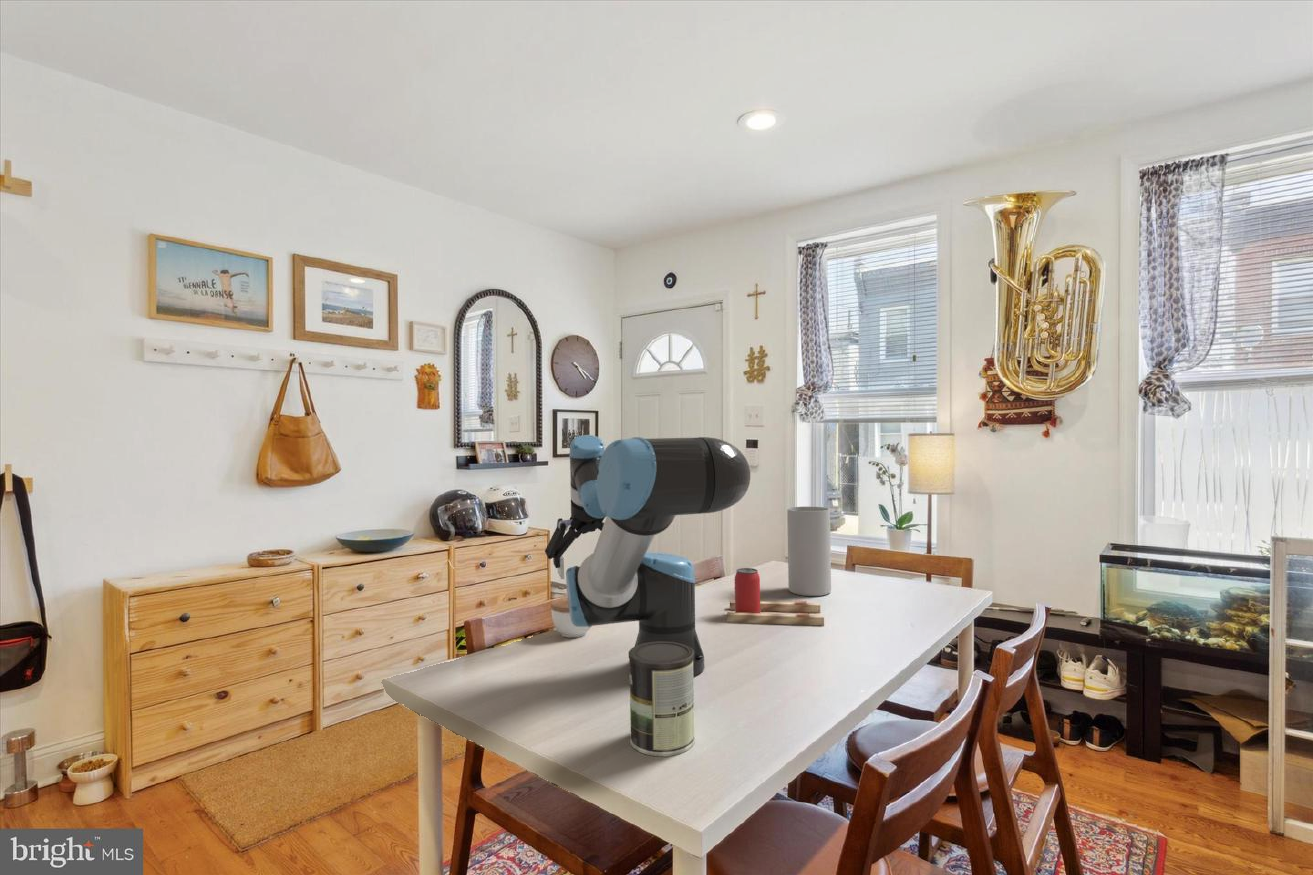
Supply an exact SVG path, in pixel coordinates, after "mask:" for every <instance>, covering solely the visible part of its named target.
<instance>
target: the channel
mask: <svg viewBox="0 0 1313 875" xmlns="http://www.w3.org/2000/svg"><path fill="white" fill-rule="evenodd" d="M729 610H730V611H731V612H729V611H728V612H727V613H726V622H727V623H733V624H735V623H736V624H738V623H739V624H766V625H767V624H769V625H793V626H794V625H796V626H798V625H799V626H823V627H824V626H825V616H824V615H823V614H822V615H821V614H820V613H821V603H819V602H807V601H806V600H805V601H803V600H801V601H800V600H794V602H786V601H783V602H782V601H760V613H735V600H729ZM732 611H734V612H732ZM762 612H764V613H762ZM765 612H783V613H765ZM784 612H786V613H784ZM789 612H790V613H794V614H790V613H789ZM810 613H814V614H810ZM815 613H817V614H815ZM818 613H819V614H818Z"/></svg>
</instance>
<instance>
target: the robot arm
mask: <svg viewBox="0 0 1313 875" xmlns="http://www.w3.org/2000/svg"><path fill="white" fill-rule="evenodd" d="M568 457H569V471H570V473H569V474H570V484H569V485H570V517H569V519H563V518H560V517H559V518H558V519H557V524H556V528H555V530H554V532H553V534H552V535H551V538H550V540H549V542H548V544H547V545H546V548H545V549H544V552H545V554H546V557H547V559H548V560H551V559H553V560H552V561H553V562H552V563H553V566H554V567H555V569H557V574H558V577H560V580H564V579H565V582H566V595H567V597H568V604H569V611H570V617H571V621H572V623H573V625H575V626H577V627H591V628H592V627H593V626H603V625H611V624H612V625H613V624H620V623H627V622H629V623H630V622H638V632H637V636H636V640H635V643H634V646H633V647H635V646H637V645H640V644H643V643H647V642H655V641H670V642H677V643H682V644H685V645H687V646H689V647H691V648H692V649H693V651H694V658H693V678H694V677H696V676H699V675H700V674H701V673H702V672H703V671H704V670H705V656H704V652H703V649H702V645H701V643H700V640H699V639H700V638H699V637H698V633H697V631H696V586H695V584H696V579H695V572H694V571H695V570H694V569H695V568H694V564H693V562H692V561H691V560H690V559H688V558H687V557H684V556H681V555H676V554H671V553H665V552H664V553H663V552H662V553H661V552H647V551H648V549H649V548H650V546H651V543H652V541H653V540H654V537H655V536H657V535H659V534H661V533H663V532H664V531H665V530H667V529H668V528H669V527H670V526H671V524H672V523H673V521H674V519H675V517H676V516H685V515H700V514H702V515H703V514H711V513H716V512H720V511H723V510H727V509H728V508H731V507H732V506H734V505H736V504H737V503H738V502H740V501H741V500H742V499H743V497H745V495H746V494H747V491H748V490H749V487H750V483H751V468H750V465H749V463H748V460H747V458H746V457H745V455H744V454H743V452H741V450H739V448H737V447H736V446H735V445H733V444H732V443H730V442H727V441H725V440H724V439H723V440H722V439H719V438H716V437H707V436H706V437H705V436H703V437H702V436H701V437H699V436H698V437H670V438H669V437H666V438H665V437H664V438H663V437H662V438H659V437H658V438H644V437H640V436H639V437H638V436H637V437H635V436H634V437H631V438H624V439H622V438H621V439H617V440H614V441H612V442H611V443H609V444H608V445H607V446H606V447H605V443H604V441H603V439H601V438H600V437H599V436H596V435H593V434H584V435H583V434H582V435H578V436H576V437H574V438H573V439H572V440H571V442H570V444H569V453H568ZM603 521H604V522H603ZM596 530H599V531H600V534H599V536H598V539H597V542H596V545H595V547H594V551H593V552H592V554H590V555H588V556H587V557H586V558H585V559H584V560H583V561H582V562H581V564H580V566H578V565H574V566H570V567H568V568H567V569H566V571H565V561H564V560H565V559H564V557H563V555H564V553H566V551H567V550H568V548H569V547H570V546H571V545H572V544H573V543H574V541H575V540H576V539H578V538H580V536H581V535H585V534H588V533H592V532H595V531H596ZM566 531H567V532H566Z"/></svg>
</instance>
